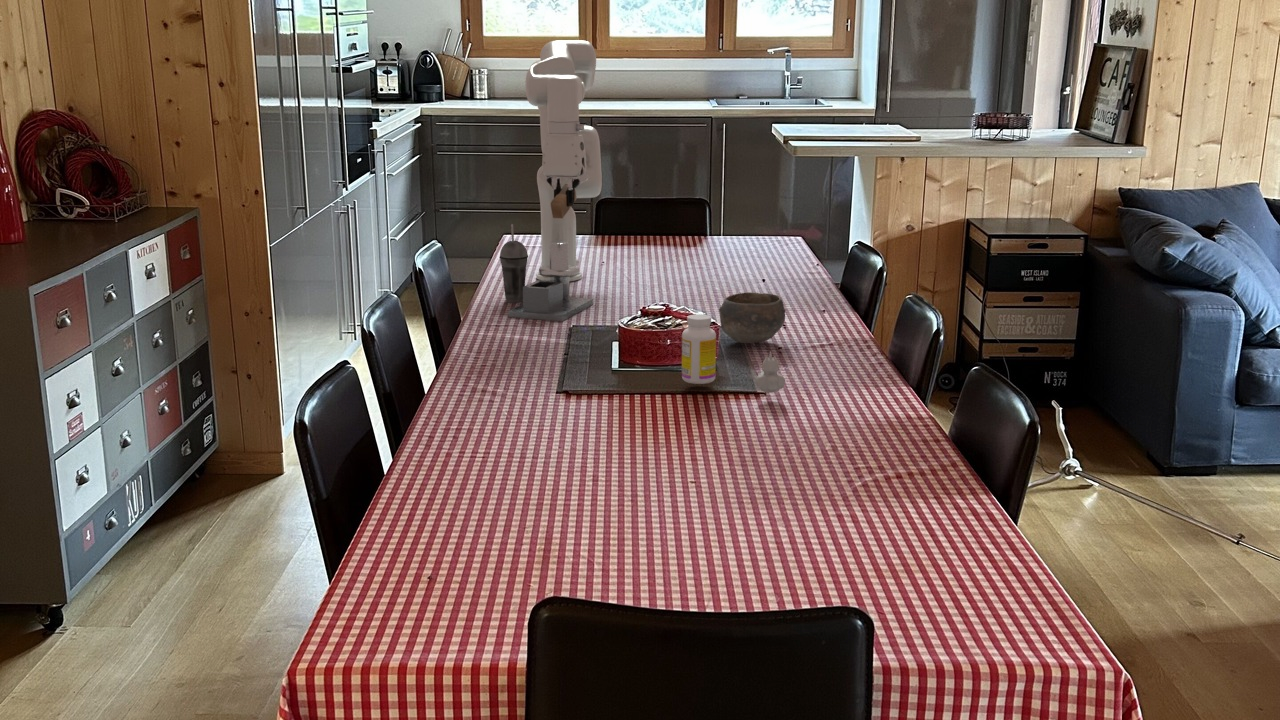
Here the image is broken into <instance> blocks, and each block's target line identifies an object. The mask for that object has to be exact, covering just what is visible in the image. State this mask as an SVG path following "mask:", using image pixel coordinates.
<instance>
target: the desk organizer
mask: <svg viewBox="0 0 1280 720" xmlns="http://www.w3.org/2000/svg"><path fill="white" fill-rule="evenodd" d="M549 264H550V266H544V267H542V266H541V267H539V268H538V273H539V274H540V275H542V276H546V277H550V281H542V280H538V279H537V280H536V281H533V282H531V283H529V284H525V286H524V287H523V302H522V304H520V305H517V306H516V307H514V308H511V309H509V310H507V313H508V318H515V319H516V318H517V319H526V320H527V319H529V320H540V321H550V322H551V321H552V322H561V323H562V322H564V321H566V320H568V319H570V318H571V317H573V316H575V315H577V314H579V313H580V312H582V311H584V310H586V309H588V308H590V307H591V306H593V305H594V298H589V297H576V296H574V297H573V296H570V281H569V277H571V276H576V275H579V272H580V267H578V266H570V265H569V243H568V242H550V243H549Z"/></svg>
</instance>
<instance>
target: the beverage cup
mask: <svg viewBox="0 0 1280 720" xmlns="http://www.w3.org/2000/svg"><path fill="white" fill-rule="evenodd" d="M510 225H511V226H510V228H511V229H510V230H511V231H510V233H511V240H509V241H507V242H506V243H505V244H503V245H502V247H501V249H500V253H499V261H500V265H501V270H502V281H503V289H504V296H505V302H506V303H508V304H520V303H523V287H524V286H526V276H527V275H526V274H527V273H526V272H527V265H528V258H529V254H528V249H527V247H526V246H525V245H524V244H523V243H522V242H520V241H517V240H515V237H514V234H515V233H514V223H511V224H510Z"/></svg>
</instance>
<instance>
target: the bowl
mask: <svg viewBox="0 0 1280 720" xmlns="http://www.w3.org/2000/svg"><path fill="white" fill-rule="evenodd" d="M783 302H784V301H783V299H782V298H781V296H780V295H777V294H773V293H765V292H764V293H761V292H760V293H759V292H753V291H752V292H741V293H735V294H732V295H729V296H727V297H725V298H724V299H723V302H722V304H721V306H719V308H718V312H719V319H720V328H721V329H722V331H723V333H724V334H725V335H727V336H728V337H729V338H730V339H732V340H733V341H735V342H738V343H741V344H754V343H755V344H756V343H761V342H766V341H768V340H770V339H773V337H774V336H775V335H776V334H777V333H778V332H780V330H781V328H782V327H783V325H784V323H785V320H786V309H785V305H784V303H783Z"/></svg>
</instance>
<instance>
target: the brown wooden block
mask: <svg viewBox="0 0 1280 720" xmlns="http://www.w3.org/2000/svg"><path fill="white" fill-rule="evenodd" d="M567 187H568V184H565V185H564V186H563V187H562V190H561V191H560V193H559V194H557V195H556V197H555V198H554V199H553V201H552V202H551V203H550V204H551V210H552V215H553V218H562V219H563V217H564V216H565V214H566V213H567V212H568V210H569V209H570V208H571V207H572V206H569V207H567V199H566V190H567ZM574 194H575V201H574V203H575V202H576V201H577V199H578V198H577V197H576V191H575V189H574Z"/></svg>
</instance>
